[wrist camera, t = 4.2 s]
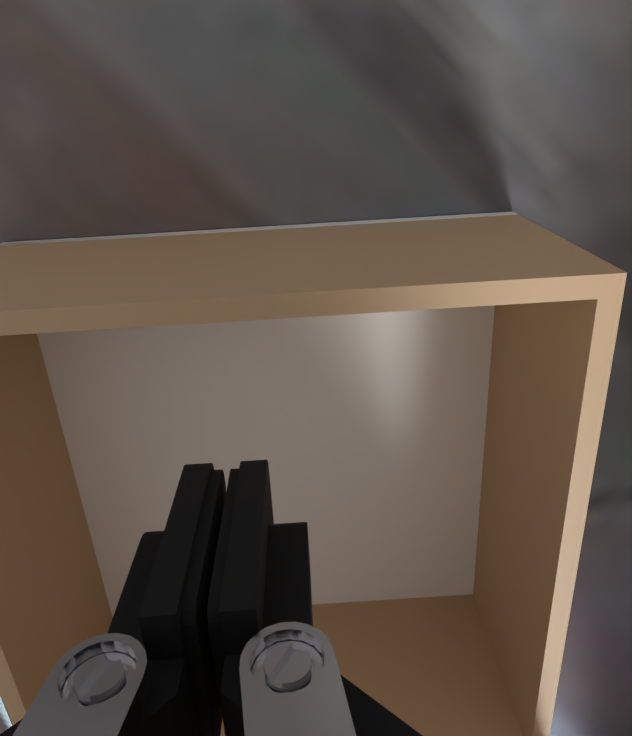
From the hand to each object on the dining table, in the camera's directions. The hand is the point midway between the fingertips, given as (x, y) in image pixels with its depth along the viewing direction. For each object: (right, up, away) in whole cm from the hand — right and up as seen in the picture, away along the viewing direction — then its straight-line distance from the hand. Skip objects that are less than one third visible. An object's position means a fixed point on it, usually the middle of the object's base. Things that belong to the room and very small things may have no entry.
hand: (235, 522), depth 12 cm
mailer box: (0, 0, +13) cm, 13 cm away
